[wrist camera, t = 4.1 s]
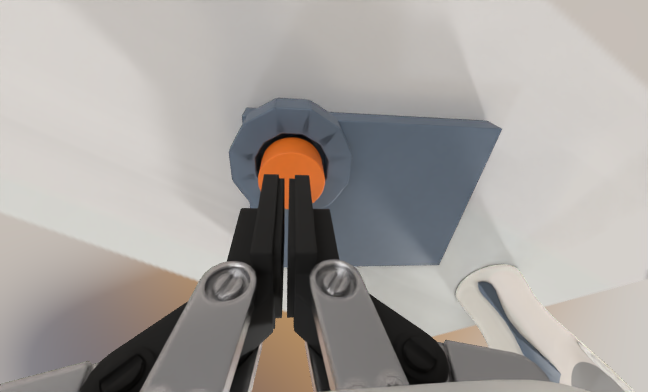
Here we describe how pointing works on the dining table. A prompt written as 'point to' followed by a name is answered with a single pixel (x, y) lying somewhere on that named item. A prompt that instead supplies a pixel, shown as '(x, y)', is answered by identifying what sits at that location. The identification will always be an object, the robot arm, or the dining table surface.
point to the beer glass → (531, 329)
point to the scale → (375, 175)
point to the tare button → (293, 164)
